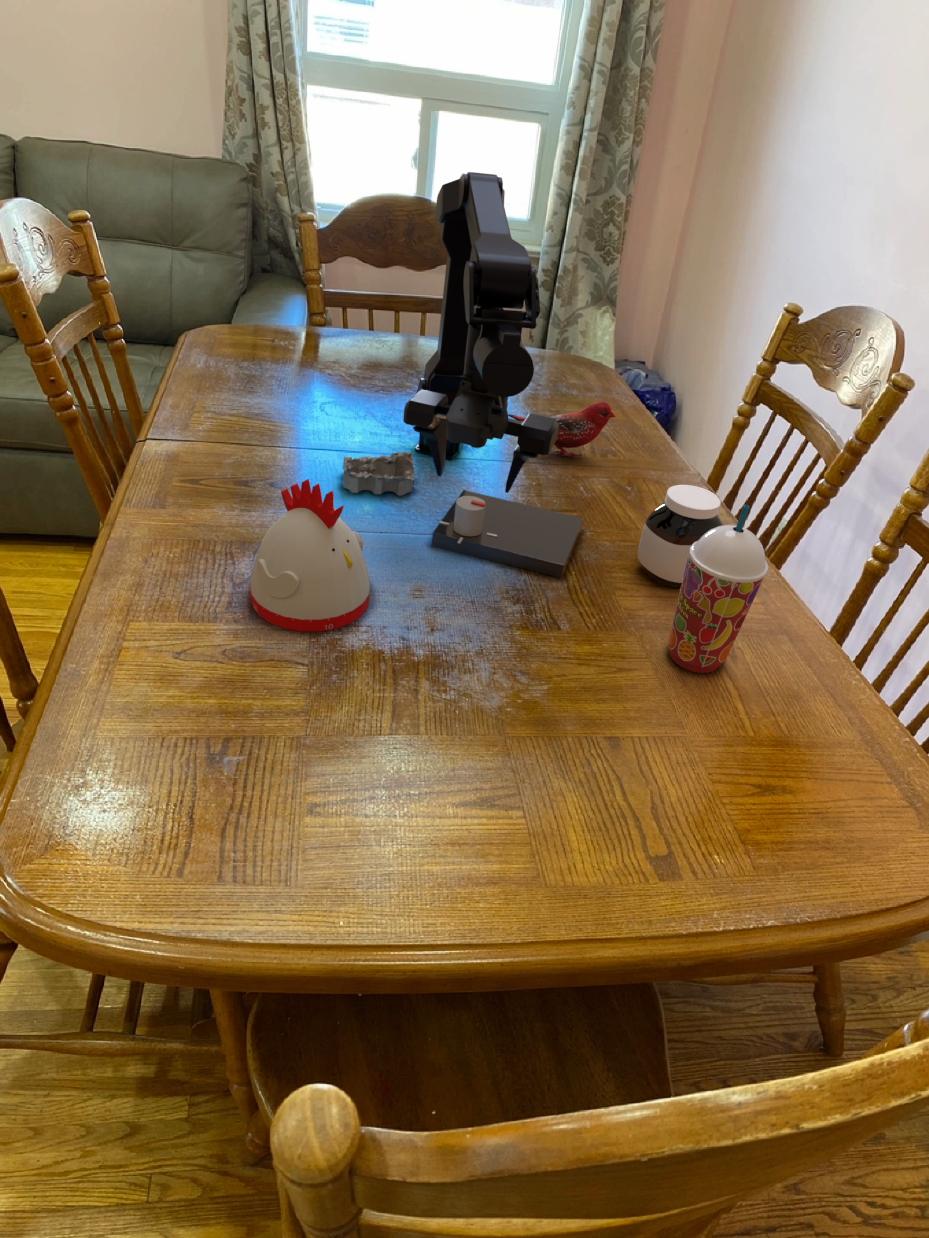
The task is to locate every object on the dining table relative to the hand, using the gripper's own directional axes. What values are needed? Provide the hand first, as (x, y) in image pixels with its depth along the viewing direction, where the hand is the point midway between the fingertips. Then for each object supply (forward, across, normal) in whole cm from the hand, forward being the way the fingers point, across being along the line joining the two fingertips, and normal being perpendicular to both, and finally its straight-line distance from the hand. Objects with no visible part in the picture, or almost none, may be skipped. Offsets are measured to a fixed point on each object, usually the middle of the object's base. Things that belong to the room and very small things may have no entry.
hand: (473, 483), depth 107 cm
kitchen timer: (+9, -13, -21) cm, 26 cm away
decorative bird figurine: (+9, +5, +35) cm, 36 cm away
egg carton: (+9, -17, +10) cm, 22 cm away
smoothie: (+9, +32, -13) cm, 36 cm away
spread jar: (+9, +27, +7) cm, 29 cm away
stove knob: (+7, 0, 0) cm, 7 cm away
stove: (+9, +5, +4) cm, 11 cm away
